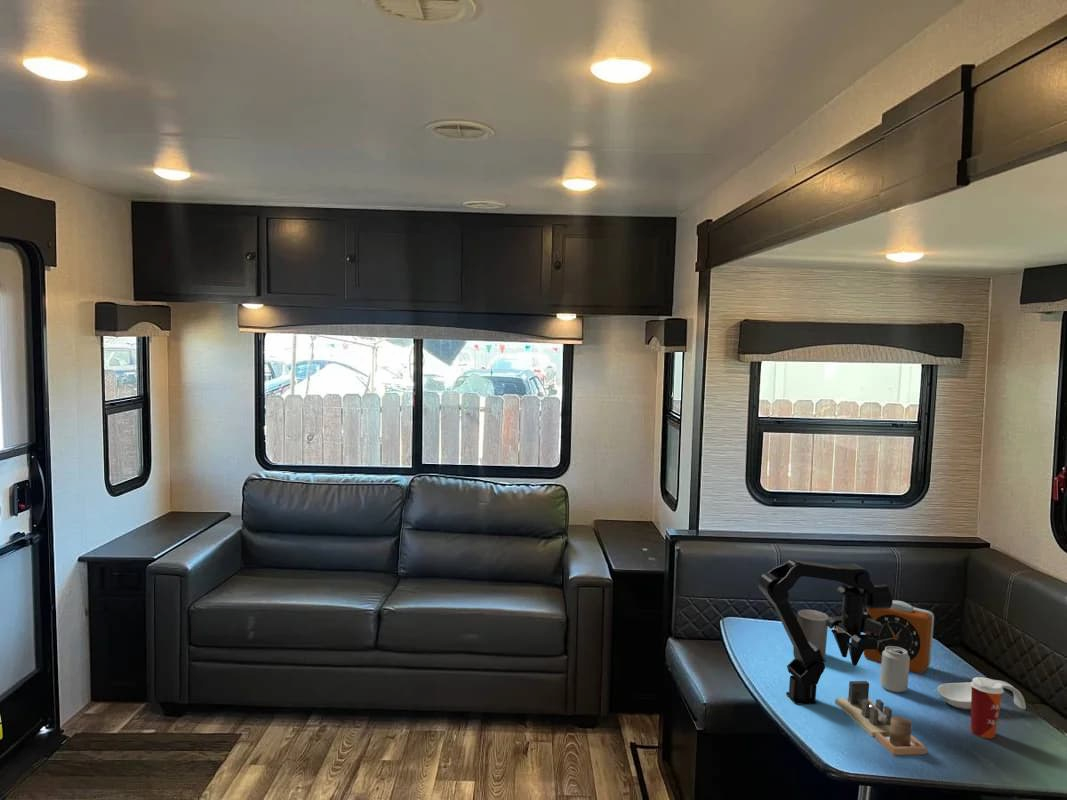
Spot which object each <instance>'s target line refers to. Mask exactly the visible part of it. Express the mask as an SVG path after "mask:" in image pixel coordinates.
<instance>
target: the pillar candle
mask: <svg viewBox="0 0 1067 800" xmlns="http://www.w3.org/2000/svg"><path fill="white" fill-rule="evenodd" d="M829 617H830V616H829V615H828V614H827V613H824V612H822V611H819V610H816V609H814V610H813V609H801V610H799V611H797V616H796V618H797V620H798V622H799V624H800V626H801V628H802V630H803V633H804V635H805V637H806V639H807V641H808V642H809V641H810V642H811V643H812V644H814V645H815V646H816V647H817V648H819V649H820V651H821V655H822V657H823V659H824V660H825V658H826V651H827V642H828V641H827V638H828V628H829V627H828V626H826V623H827V619H828V618H829Z"/></svg>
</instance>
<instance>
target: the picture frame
mask: <svg viewBox="0 0 1067 800" xmlns="http://www.w3.org/2000/svg"><path fill="white" fill-rule="evenodd" d="M875 740H876V741H877V742H878V743H879V744H880V745H881V746H883V747H884V748H885V749H886V751H888V752H889V753H890V754H891V755H892V756H901V755H902V756H903V755H904V756H905V755H907V756H909V755H927V752H928V751H927V747H926V746H925V745H924V744H923V743H922V742H921V741H920V740H918V739H917V738H916V737H915V736H914V735H912V734H911V740H910V746H900V747H896V746H894V745H892V744H891V743H890V736H883V735H881V734H880V733H876V736H875Z"/></svg>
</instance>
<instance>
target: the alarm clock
mask: <svg viewBox="0 0 1067 800" xmlns="http://www.w3.org/2000/svg"><path fill="white" fill-rule="evenodd" d="M892 600H893V602H892V606H891V608H889V609H869V608H867V607H866V613H868V614H870V615H871V616H872V619H873V620H875V621H877V622H879V623H880V624H882V625H883V628H882V630H881V632H880V635H879V636H878V635H876V634H875V633H872V632H869V631H868V632H867V633H864V635H868V634H869V635H871V636H872V637H874V638H875V639H876V640H877V641H878V642H879V643H878V649H867V650H864V652H863V656H864V658H866V659H867V660H871V661H874V662H876V663H879V664H882V652H883V651H884V650H885V647H887V646H895V647H900V648H903V649H905V650H906V651H907V652H908V655H909V657H910V662H909V672H913V673H915V674H923V673H924V672H926V670H927V669H928V668H929V666H931V663H932V662H931V660H932V650H933V649H932V647H933V637H934V636H933V635H934V625H935V624H934V623H935V615H934V613H933V612H932V611H930V610H927V609H922V608H918V607H915V606H913V605H911V604H910V603H908V602H905V601H902V600H894V599H892Z"/></svg>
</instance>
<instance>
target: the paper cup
mask: <svg viewBox="0 0 1067 800" xmlns="http://www.w3.org/2000/svg"><path fill="white" fill-rule="evenodd" d="M995 680H996V679H992V678H988V677H980V676H978V677H977V676H976V677H973V678H972V681H970V682H971V683H970V684H971V686H972V694H971V709H970V731H971V733H972V734H974V735H976V736H978V737H981V738H984V739H994V738H995V737H996V733H997V732H996V731H997V726H998V721H999V715H1000V714H999V713H1000V710H1001V709H1000V708H1001V701H1002V696H1003V693H1004V692H1005V691H1004V688H1002V685H1001V684H1000V683H999V682H997V681H995Z"/></svg>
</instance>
